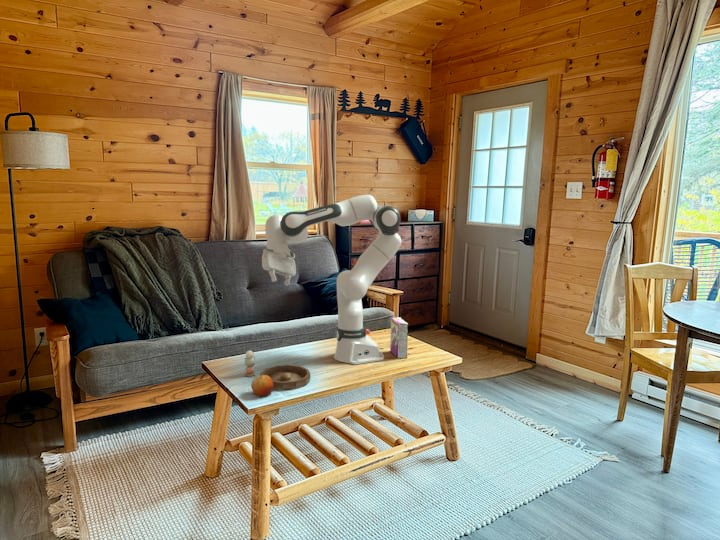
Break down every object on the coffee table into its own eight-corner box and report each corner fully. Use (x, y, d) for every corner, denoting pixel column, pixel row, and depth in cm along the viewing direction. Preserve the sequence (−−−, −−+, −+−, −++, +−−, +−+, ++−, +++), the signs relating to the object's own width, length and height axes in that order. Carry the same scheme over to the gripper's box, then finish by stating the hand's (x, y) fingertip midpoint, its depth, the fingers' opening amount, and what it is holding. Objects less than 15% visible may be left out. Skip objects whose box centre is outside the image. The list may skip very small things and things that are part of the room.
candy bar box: (389, 351, 235) (390, 317, 232) (399, 350, 236) (400, 317, 233) (396, 359, 224) (398, 323, 221) (407, 358, 225) (408, 323, 222)
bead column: (254, 373, 203) (254, 348, 202) (255, 376, 199) (255, 351, 198) (244, 374, 202) (244, 349, 200) (245, 377, 198) (244, 352, 197)
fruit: (280, 393, 180) (268, 376, 178) (261, 405, 179) (249, 388, 177) (277, 384, 188) (266, 368, 186) (259, 396, 187) (247, 380, 184)
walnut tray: (304, 370, 208) (304, 363, 207) (313, 387, 190) (314, 379, 189) (258, 374, 202) (258, 367, 202) (263, 392, 184) (263, 384, 184)
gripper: (269, 244, 201) (272, 277, 198) (296, 255, 220) (300, 285, 216) (256, 248, 204) (259, 280, 200) (285, 258, 222) (288, 288, 218)
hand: (281, 283), depth 208 cm, fingers open, 8 cm apart
